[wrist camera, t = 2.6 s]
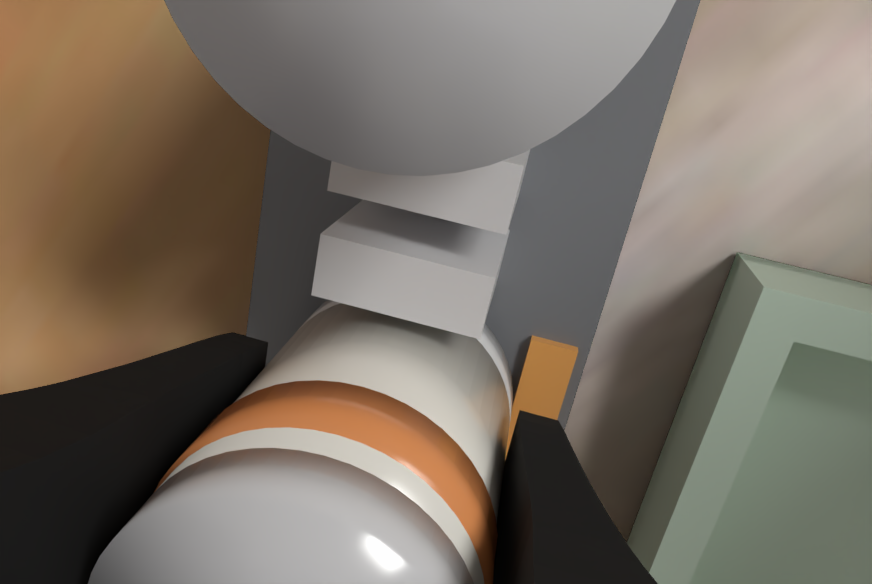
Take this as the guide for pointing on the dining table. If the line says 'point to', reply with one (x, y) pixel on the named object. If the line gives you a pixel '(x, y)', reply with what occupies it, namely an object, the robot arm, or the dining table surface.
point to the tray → (769, 439)
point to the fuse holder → (473, 236)
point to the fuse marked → (338, 466)
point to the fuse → (418, 72)
